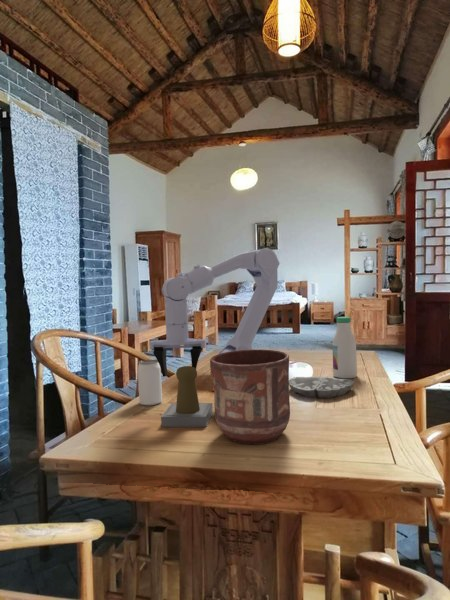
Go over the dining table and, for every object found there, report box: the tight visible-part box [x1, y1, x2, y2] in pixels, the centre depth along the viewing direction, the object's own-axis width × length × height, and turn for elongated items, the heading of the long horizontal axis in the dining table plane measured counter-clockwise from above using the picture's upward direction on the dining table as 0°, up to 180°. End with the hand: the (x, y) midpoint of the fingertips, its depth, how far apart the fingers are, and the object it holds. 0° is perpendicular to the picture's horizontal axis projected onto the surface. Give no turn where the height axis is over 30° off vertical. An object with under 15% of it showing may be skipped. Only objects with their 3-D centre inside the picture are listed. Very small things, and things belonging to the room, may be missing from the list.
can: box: [137, 359, 163, 407], centre depth 131 cm, size 6×6×12 cm
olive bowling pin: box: [175, 365, 200, 414], centre depth 114 cm, size 6×6×11 cm
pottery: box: [209, 349, 291, 445], centre depth 102 cm, size 18×18×18 cm
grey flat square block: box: [160, 402, 214, 428], centre depth 115 cm, size 11×11×3 cm
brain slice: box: [289, 375, 355, 399], centre depth 135 cm, size 20×17×3 cm
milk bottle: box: [332, 316, 358, 379], centre depth 152 cm, size 8×8×20 cm
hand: (179, 375), depth 119 cm, fingers open, 7 cm apart
